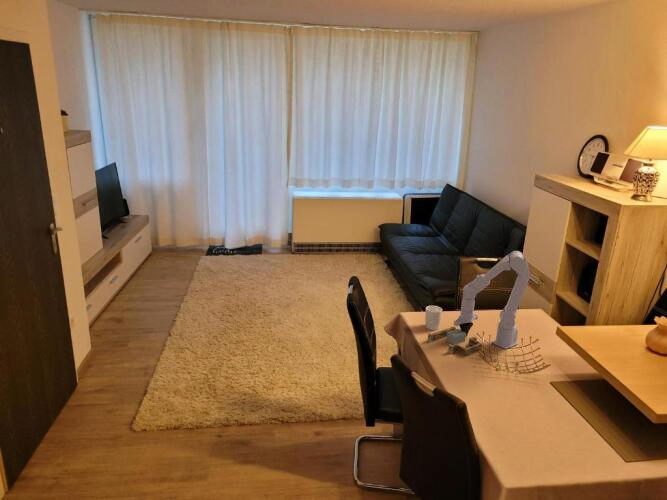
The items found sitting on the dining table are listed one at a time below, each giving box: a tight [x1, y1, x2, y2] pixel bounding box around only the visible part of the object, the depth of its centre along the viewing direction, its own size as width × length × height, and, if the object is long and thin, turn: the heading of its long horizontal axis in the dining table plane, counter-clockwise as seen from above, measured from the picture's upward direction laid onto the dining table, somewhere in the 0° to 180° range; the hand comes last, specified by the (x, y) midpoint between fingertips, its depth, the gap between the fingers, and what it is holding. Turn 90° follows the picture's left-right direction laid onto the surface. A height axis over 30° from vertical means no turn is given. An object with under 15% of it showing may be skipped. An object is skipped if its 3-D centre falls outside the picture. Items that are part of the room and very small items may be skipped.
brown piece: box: [427, 325, 483, 357], centre depth 228 cm, size 17×19×4 cm
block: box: [446, 328, 467, 345], centre depth 231 cm, size 7×5×4 cm
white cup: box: [424, 305, 443, 331], centre depth 243 cm, size 8×8×10 cm
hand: (464, 336), depth 235 cm, fingers closed
